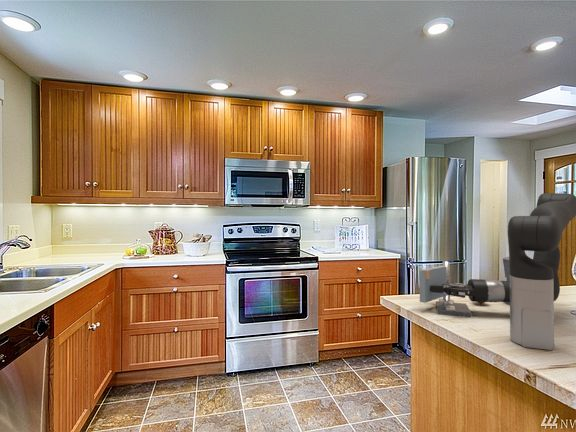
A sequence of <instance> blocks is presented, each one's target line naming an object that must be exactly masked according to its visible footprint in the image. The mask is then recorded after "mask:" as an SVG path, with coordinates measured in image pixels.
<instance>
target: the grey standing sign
mask: <svg viewBox="0 0 576 432" xmlns="http://www.w3.org/2000/svg"><path fill="white" fill-rule="evenodd" d="M418 271H419V277H418V278H419V302H420V303H424V304H425V303H429V302H431V301H436V300H439V299H442V298H443V297H444V296H447V295H446V294H444V293H433V292H431V291H430V286H431V285H438V286H442V284H446V283H447V280H446V266H443V265H439V266H434V267H429V268H424V269H419V270H418Z"/></svg>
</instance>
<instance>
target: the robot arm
mask: <svg viewBox="0 0 576 432" xmlns="http://www.w3.org/2000/svg"><path fill="white" fill-rule="evenodd" d="M574 218H576V195H574V194H572V193H566V192H565V193H562V192H559V193H558V192H557V193H556V192H555V193H554V192H553V193H552V192H547V193H545V192H544V193H541V194H540V195H539V196H538V199H537V202H536V206H535V208H534V209H532V211H531V212H530V214H529V215H515V216H512V217H511V218H510V219H509V221H508V224H507V243H508V257H509V266H510V281H506V280H497V279H484V278H483V279H481V278H479V279H478V278H470V279H468V281H467V284H463V283H462V282H461V283H460V282H457V283H456V282H453V281H452V282H450V283H446V284H442V286H438V285H431V286H430V291H431V292H433V293H444V294H446V295H450V297H456V298H457V297H458V298H462V299H464V298H466V297H468V299H469V301H471V302H473V303H477V302H485V303H505V302H510V305H509V329H510V330H509V332H510V333H509V338H510V339H509V340H511V342H513V343H515V344H518V345H520V346H522V347H524V348H530V349H539V350H548V351H553V350H554V349H553V348H555V318H554V317H555V313H554V310H555V305H554V303H555V301H557V300H558V298H559V295H560V291H561V285H560V284H561V283H560V277H559V267H560V263H561V262H560V261H561V251H560V248H559V245H560V243H561V240H562V236H563V232H564V231H565V229H566V228H567V226H568V225H569V223H570V222H571V221H572V220H574ZM527 251H528V252H533V258H531V257H529V255H527V253H526V252H527Z"/></svg>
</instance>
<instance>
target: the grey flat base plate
mask: <svg viewBox="0 0 576 432" xmlns="http://www.w3.org/2000/svg"><path fill="white" fill-rule="evenodd" d="M435 307H436V310H437V311H436V312H437V314H438V315H444V316H452V317H453V316H455V317H467V318H472V311H471V310H470V308H469V306H468V305H467V303H462V302H454V303H452V301H444V302H440V301H439V300H438V301H437V300H435Z"/></svg>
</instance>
